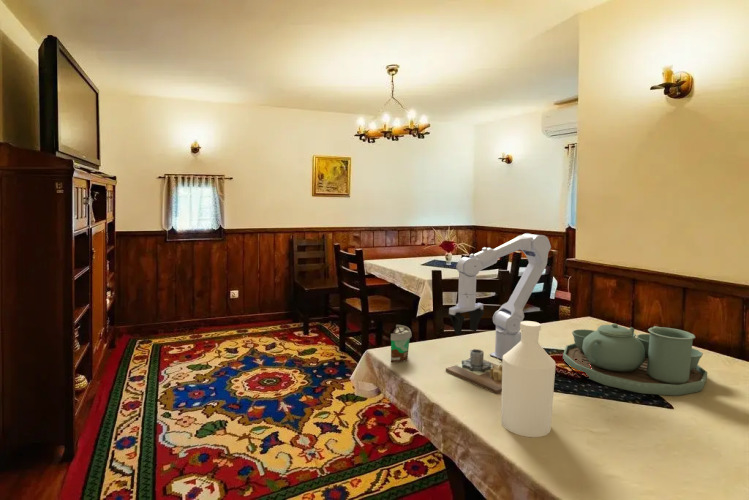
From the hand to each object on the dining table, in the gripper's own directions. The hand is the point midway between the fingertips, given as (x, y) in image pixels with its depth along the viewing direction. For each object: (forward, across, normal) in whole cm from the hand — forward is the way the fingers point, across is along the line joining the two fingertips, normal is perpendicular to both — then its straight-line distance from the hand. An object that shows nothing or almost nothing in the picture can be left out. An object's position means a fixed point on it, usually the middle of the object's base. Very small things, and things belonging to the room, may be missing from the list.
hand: (465, 332), depth 148 cm
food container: (+10, +17, -13) cm, 23 cm away
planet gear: (+8, +4, +9) cm, 13 cm away
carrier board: (+9, +5, +14) cm, 18 cm away
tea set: (+10, -38, +36) cm, 53 cm away
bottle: (+10, +21, +39) cm, 45 cm away
